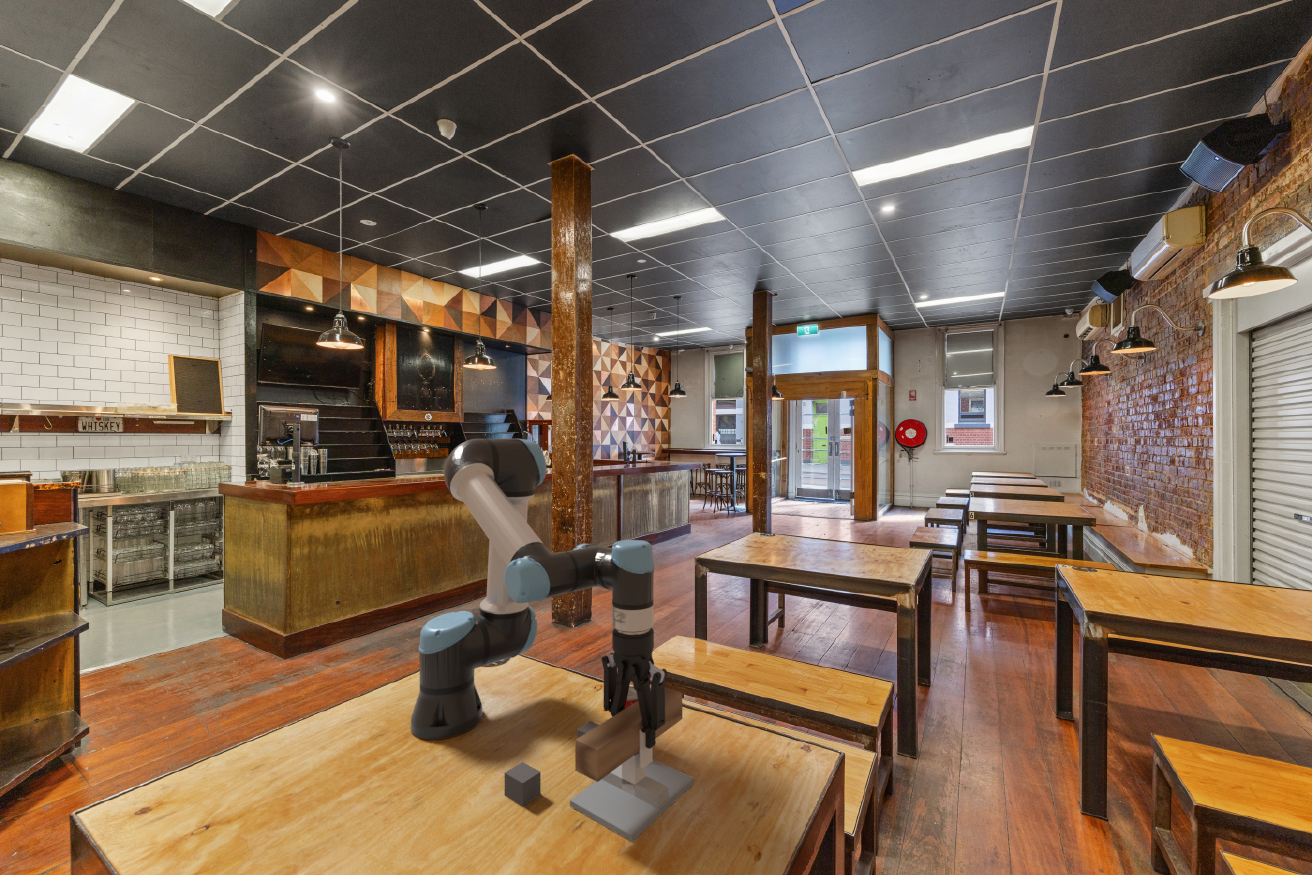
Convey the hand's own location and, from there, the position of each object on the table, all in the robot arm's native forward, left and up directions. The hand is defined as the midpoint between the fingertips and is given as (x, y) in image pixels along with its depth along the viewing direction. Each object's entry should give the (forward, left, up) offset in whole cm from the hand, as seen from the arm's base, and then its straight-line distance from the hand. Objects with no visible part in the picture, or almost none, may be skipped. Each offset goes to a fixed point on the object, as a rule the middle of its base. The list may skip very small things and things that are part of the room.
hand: (633, 757), depth 94 cm
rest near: (-16, -12, -6) cm, 21 cm away
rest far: (-16, +6, -6) cm, 18 cm away
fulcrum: (0, 0, -6) cm, 6 cm away
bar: (0, 0, +3) cm, 3 cm away
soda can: (-10, +10, -7) cm, 16 cm away
